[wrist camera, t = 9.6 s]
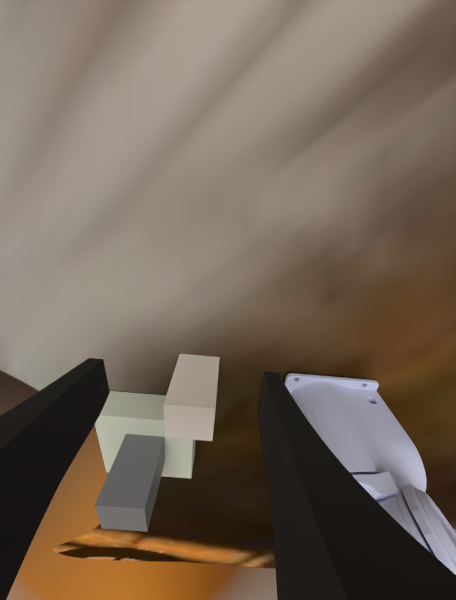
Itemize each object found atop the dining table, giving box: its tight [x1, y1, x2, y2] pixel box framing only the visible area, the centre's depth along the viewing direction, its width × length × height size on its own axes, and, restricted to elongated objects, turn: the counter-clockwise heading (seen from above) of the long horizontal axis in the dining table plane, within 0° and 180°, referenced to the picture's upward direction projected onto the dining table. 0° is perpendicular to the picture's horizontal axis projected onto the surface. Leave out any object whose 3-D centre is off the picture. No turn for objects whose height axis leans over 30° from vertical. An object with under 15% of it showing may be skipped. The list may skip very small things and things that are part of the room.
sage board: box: [95, 391, 196, 478], centre depth 26 cm, size 10×10×3 cm
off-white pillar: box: [164, 354, 220, 441], centre depth 21 cm, size 4×4×6 cm
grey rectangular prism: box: [95, 434, 165, 531], centre depth 22 cm, size 4×4×6 cm
